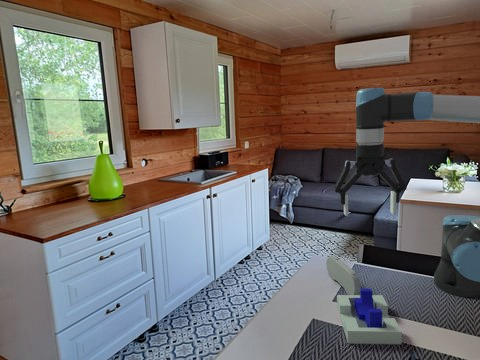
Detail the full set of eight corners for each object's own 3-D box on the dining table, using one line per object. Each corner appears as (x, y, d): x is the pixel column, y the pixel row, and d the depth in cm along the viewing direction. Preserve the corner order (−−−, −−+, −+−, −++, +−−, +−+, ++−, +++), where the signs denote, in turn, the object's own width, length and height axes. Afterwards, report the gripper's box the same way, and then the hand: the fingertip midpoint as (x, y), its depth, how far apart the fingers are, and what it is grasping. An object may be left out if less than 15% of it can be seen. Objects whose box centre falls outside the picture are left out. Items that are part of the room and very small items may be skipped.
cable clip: (354, 307, 104) (354, 288, 102) (370, 307, 103) (370, 288, 102) (363, 332, 92) (363, 311, 91) (381, 333, 91) (382, 312, 90)
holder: (382, 305, 105) (382, 295, 105) (401, 344, 88) (401, 331, 88) (337, 305, 107) (337, 295, 106) (347, 343, 90) (347, 331, 89)
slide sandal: (361, 300, 109) (361, 275, 108) (354, 301, 109) (354, 276, 107) (332, 273, 128) (331, 251, 126) (326, 274, 128) (325, 252, 126)
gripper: (410, 139, 104) (408, 209, 109) (324, 144, 107) (325, 211, 112) (420, 142, 97) (417, 216, 101) (327, 146, 100) (328, 218, 104)
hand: (369, 214), depth 106 cm, fingers open, 13 cm apart
